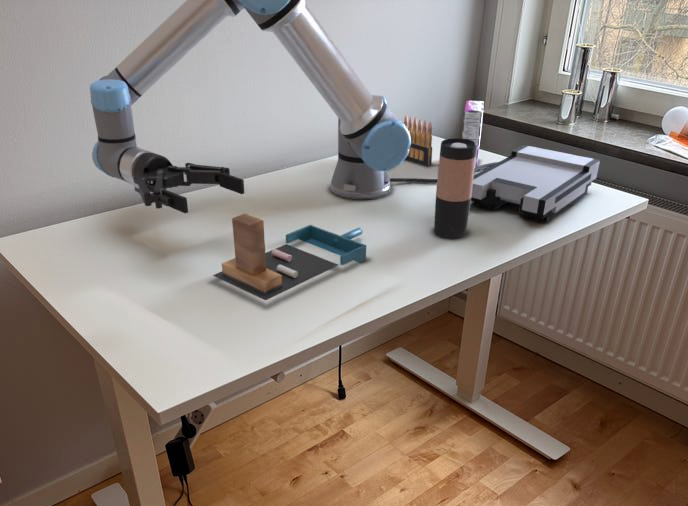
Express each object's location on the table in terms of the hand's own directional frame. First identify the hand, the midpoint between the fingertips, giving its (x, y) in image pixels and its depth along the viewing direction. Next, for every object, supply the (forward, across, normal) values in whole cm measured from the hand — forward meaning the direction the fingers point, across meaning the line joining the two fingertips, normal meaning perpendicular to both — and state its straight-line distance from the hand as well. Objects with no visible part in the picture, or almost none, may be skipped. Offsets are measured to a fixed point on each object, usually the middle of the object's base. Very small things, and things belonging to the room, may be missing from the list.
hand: (215, 196), depth 131 cm
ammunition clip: (-15, -84, -16) cm, 87 cm away
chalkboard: (+9, -7, -16) cm, 20 cm away
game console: (+25, -78, -16) cm, 84 cm away
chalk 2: (+12, -7, -14) cm, 19 cm away
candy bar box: (-1, -91, -16) cm, 92 cm away
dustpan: (+9, -25, -16) cm, 31 cm away
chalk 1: (+6, -11, -14) cm, 19 cm away
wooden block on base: (+9, 0, -15) cm, 17 cm away
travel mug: (+22, -48, -16) cm, 55 cm away
